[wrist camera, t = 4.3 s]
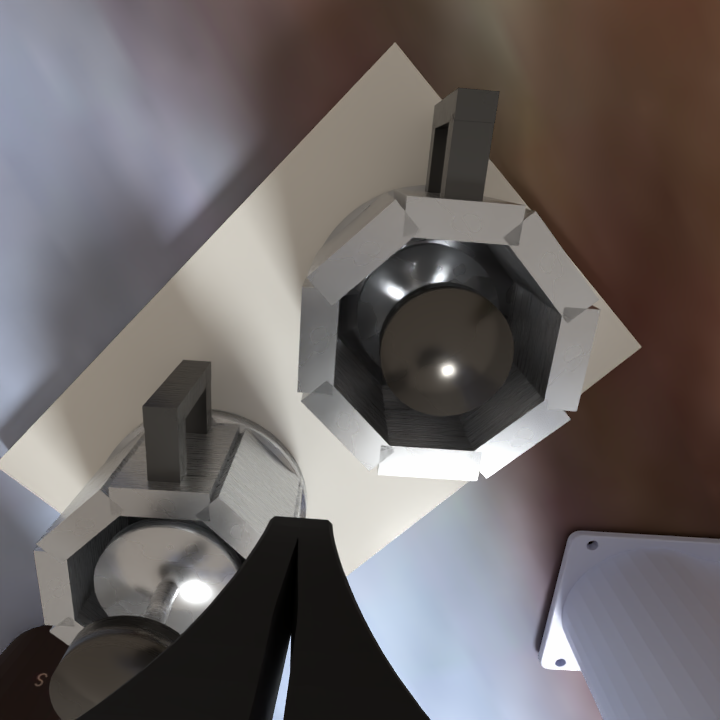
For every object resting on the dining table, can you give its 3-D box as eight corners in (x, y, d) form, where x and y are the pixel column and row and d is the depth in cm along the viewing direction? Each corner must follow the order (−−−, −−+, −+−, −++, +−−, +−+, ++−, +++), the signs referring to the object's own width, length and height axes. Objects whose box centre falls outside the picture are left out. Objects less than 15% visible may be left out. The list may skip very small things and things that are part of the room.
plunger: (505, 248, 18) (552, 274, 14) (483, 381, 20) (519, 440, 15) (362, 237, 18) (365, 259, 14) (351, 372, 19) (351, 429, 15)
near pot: (571, 121, 18) (658, 103, 13) (514, 415, 21) (563, 492, 16) (317, 98, 17) (302, 71, 12) (302, 400, 21) (286, 474, 16)
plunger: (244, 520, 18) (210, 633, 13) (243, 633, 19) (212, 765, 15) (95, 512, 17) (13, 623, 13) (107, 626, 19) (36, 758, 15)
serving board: (393, 48, 18) (394, 42, 17) (629, 339, 21) (641, 347, 21) (9, 452, 23) (-6, 465, 22) (252, 634, 26) (249, 652, 25)
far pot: (315, 359, 21) (302, 423, 15) (303, 584, 24) (289, 696, 19) (91, 343, 20) (3, 403, 15) (113, 574, 24) (47, 684, 19)
